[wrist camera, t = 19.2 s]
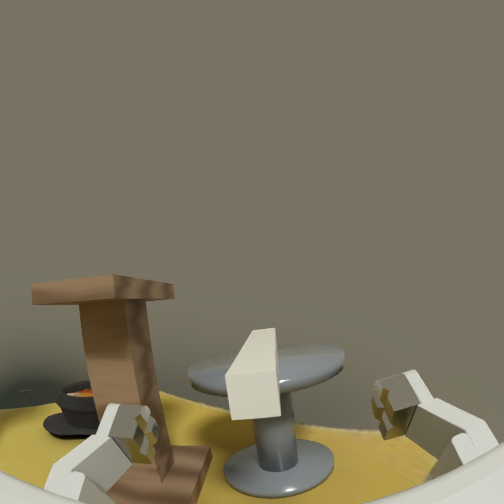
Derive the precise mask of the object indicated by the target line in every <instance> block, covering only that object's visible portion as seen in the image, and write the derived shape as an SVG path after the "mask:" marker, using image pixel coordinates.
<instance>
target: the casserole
mask: <svg viewBox="0 0 504 504" xmlns="http://www.w3.org/2000/svg"><path fill="white" fill-rule="evenodd" d="M56 403H57V405H58V406H60V407H61V410H62V413H58V414H54V415H51V416H48V417H47V418H46V419H45V420H44V423H43V426H44V428H45V429H46V430H47V431H48V432H50V433H53V434H55V435H96V433H97V430H98V427H99V425H100V422H99V419H98V415H97V411H96V406H95V402H94V398H93V393H92V389H91V384H90V380H89V381H82V382H76V383H73V384H69V385H66V386H64V387H62V388H60V389H59V391H58V398H57V400H56Z"/></svg>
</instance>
